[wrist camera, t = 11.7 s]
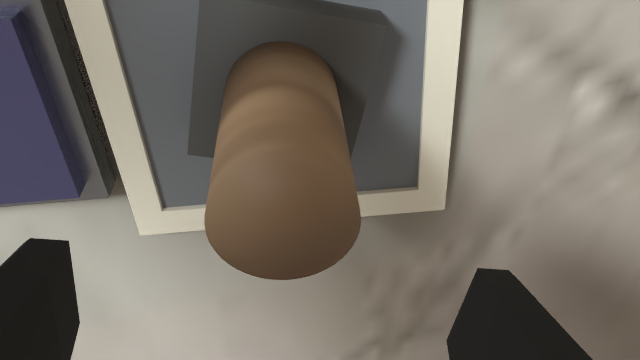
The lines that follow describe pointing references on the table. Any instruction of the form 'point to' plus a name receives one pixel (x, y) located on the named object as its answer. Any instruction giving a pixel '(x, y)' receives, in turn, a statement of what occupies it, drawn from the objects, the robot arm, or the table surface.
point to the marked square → (195, 171)
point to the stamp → (282, 128)
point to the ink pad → (45, 113)
